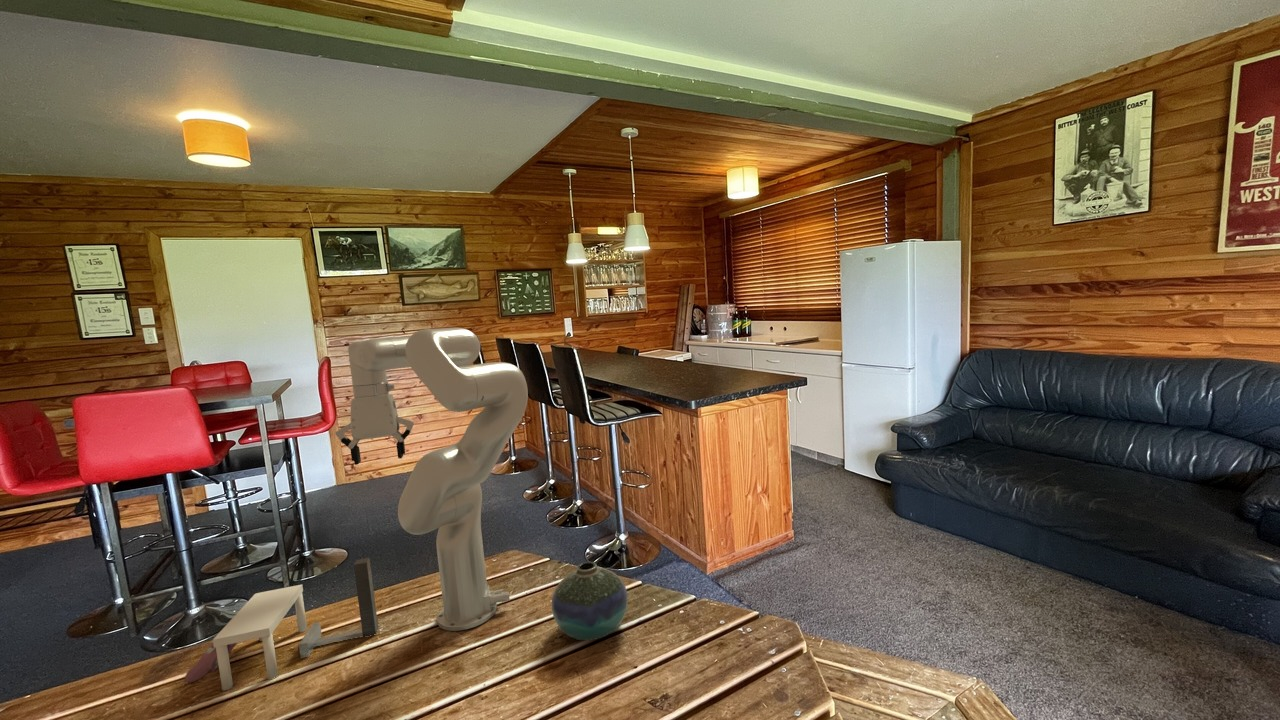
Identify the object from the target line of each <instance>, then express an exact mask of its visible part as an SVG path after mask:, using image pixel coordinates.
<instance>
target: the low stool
mask: <svg viewBox="0 0 1280 720" xmlns="http://www.w3.org/2000/svg"><path fill="white" fill-rule="evenodd" d="M303 592H304V588H303V584H298V585H293V586H292V585H291V586H287V587H281V588H277V589H272V590H267V591H261V592H257V593H254V594H253V595H252V597H251V598H250V599H249V600H248V601H247V602H246V603H245V604H244V605H243V606H242V607H241V609H239V611H238V612H236V614H235V615H234V616H233V617H232V618H231V619H230V620H229V621H228V622H227V624H226V625H225V626H224V627H223V628H222V629H221V630H220V631H219V632H218V634H216V636H214V638H213V639H212V642H213V645H214V647H216V652H217V659H218V665H219V666H218V671H219V678H220V684H221V690H222V692H224V691H227V690H230V689H232V688H233V686H234V683H233V678H232V670H231V664H230V662H231V661H230V656H229V655H228V648H227V645H228V644H233V643H242V642H246V641H251V640H256V639H259V641H260V642H262V647H263V648H262V649H263V655H264V661H265V668H266V676H267V680H268V679H271V678H274V677H276V676H277V675H278V676H279V671H278V665H277V657H276V650H275V645H274V644H275V643H274V636H273V633H274V631H275V629H277V627H278V626H279V624H280V623H281V622H282V620H283V619H284V618H285V616H286V615H287V613H288V612H289V611H290V609H291V608H292V607H293V605H294V608H295V616H296V617H295V618H296V623H297V630H298V631H297V632H298V633H304V632H307V631H308V627H307V626H308V625H307V619H306V618H307V617H306V611H305V603H304V596H303V595H304V594H303ZM278 676H277V677H278ZM277 677H276V678H277ZM274 679H275V678H274ZM271 680H272V679H271Z"/></svg>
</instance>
